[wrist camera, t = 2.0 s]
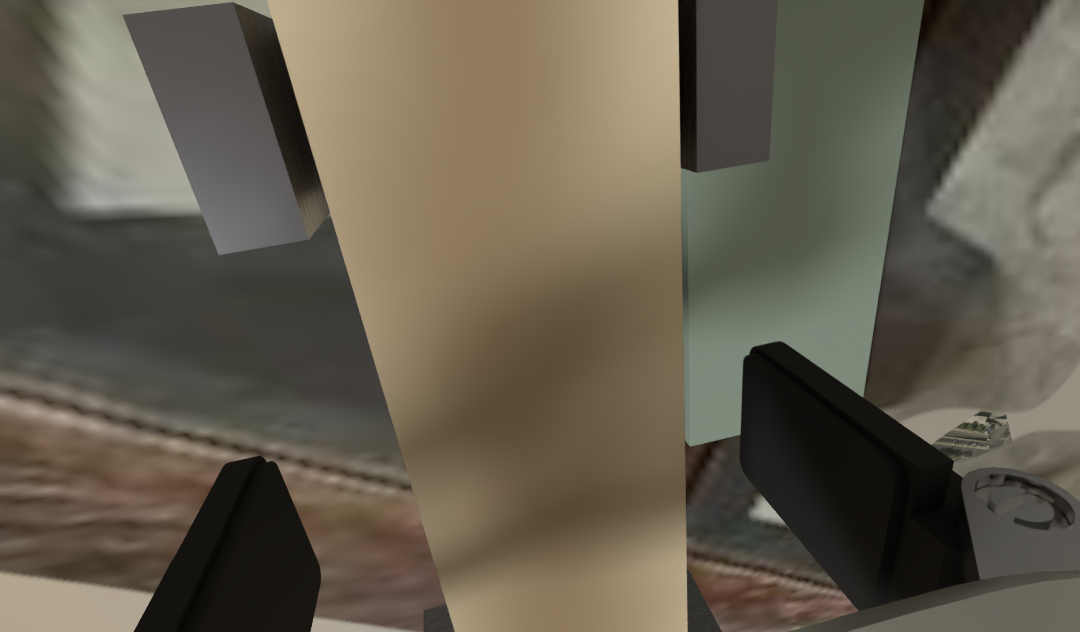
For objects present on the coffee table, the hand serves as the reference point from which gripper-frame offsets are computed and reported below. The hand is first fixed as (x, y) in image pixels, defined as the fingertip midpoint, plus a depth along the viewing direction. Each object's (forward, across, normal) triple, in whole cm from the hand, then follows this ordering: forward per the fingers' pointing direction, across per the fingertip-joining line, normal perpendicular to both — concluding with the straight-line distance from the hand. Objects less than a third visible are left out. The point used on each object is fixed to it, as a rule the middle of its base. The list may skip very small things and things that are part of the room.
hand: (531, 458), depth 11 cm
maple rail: (+1, 0, 0) cm, 1 cm away
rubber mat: (+13, -14, 0) cm, 19 cm away
